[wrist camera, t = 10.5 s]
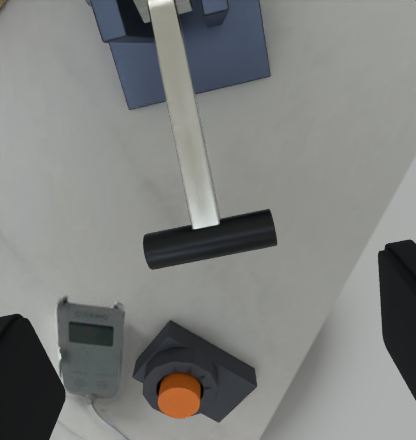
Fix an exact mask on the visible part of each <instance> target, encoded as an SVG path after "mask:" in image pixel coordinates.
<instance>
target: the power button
mask: <svg viewBox="0 0 416 440" xmlns="http://www.w3.org/2000/svg"><path fill="white" fill-rule="evenodd" d="M200 393H201V386H200V383H199V381H198V380H197V379H196V378H195V377H194V376H192V375H190V374H188V373H178V372H176V373H172V374H169V375H167V376H166V377H165V378H164V379H163V380H162V381H161V384H160V390H159V396H158V406H159V408H160V410H161V411H162V412H163V413H164V414H166V415H167V416H170V417H173V418H186V417H190V416H192V415H193V414H195V413H196V412H197V411H198V409H199V407H200Z"/></svg>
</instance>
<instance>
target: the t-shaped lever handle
mask: <svg viewBox="0 0 416 440" xmlns="http://www.w3.org/2000/svg"><path fill="white" fill-rule="evenodd" d="M132 2H133V4H134V6H135V8H136V9H137V11H138V13H139V15H140V17H141V19H142V21H143V22H144V23H148V22H151V26H152V31H153V36H154V41H155V46H156V51H157V56H158V61H159V66H160V71H161V76H162V81H163V86H164V91H165V96H166V101H167V106H168V111H169V116H170V121H171V126H172V131H173V136H174V141H175V146H176V151H177V156H178V161H179V166H180V171H181V176H182V181H183V186H184V191H185V196H186V201H187V206H188V211H189V216H190V221H191V225H188V226H183V227H178V228H173V229H168V230H163V231H158V232H153V233H148V234H145V235H144V238H143V249H144V255H145V258H146V262H147V264H148V266H149V268H150V269H152V270H154V269H159V268H164V267H169V266H174V265H179V264H184V263H190V262H195V261H200V260H205V259H210V258H215V257H221V256H226V255H231V254H236V253H241V252H246V251H251V250H257V249H262V248H267V247H272V246H276V245H277V237H276V232H275V227H274V222H273V218H272V214H271V211H270V209H266V210H261V211H256V212H251V213H246V214H241V215H237V216H232V217H227V218H222V219H221V217H220V212H219V207H218V202H217V197H216V192H215V187H214V182H213V177H212V172H211V167H210V162H209V158H208V153H207V148H206V143H205V138H204V133H203V128H202V123H201V118H200V113H199V108H198V103H197V98H196V93H195V88H194V83H193V79H192V74H191V69H190V64H189V59H188V54H187V49H186V44H185V39H184V34H183V29H182V24H181V19H180V14H182V13H186V12H190V11H192V9H193V7H192V2H191V0H132Z"/></svg>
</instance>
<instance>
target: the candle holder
mask: <svg viewBox="0 0 416 440" xmlns="http://www.w3.org/2000/svg"><path fill="white" fill-rule="evenodd" d="M5 2H6V0H0V8H1V7H2V6H3V5H4V4H5Z"/></svg>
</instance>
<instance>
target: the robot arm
mask: <svg viewBox="0 0 416 440" xmlns="http://www.w3.org/2000/svg"><path fill="white" fill-rule="evenodd" d="M378 264H379V281H380V298H381V317H382V334H383V340H384V343H385V346H386V348H387V350H388V352H389V354H390V355H391V357H392V359H393V361H394V363H395V364H396V366H397V368H398V370H399V371H400V373H401V375H402V377H403V379H404V380H405V382H406V384H407V386H408V387H409V389H410V391H411V393H412V394H413V396H414V398H415V400H416V244H415V243H414V242H413V241H412V240H405V241H400V242H394V243H388V244H386V245H385V250H383V251H379V253H378ZM64 402H65V389H64V386H63V384H62V382H61V380H60V378H59V376H58V375H57V373H56V371H55V369H54V367H53V365H52V363H51V361H50V359H49V357H48V355H47V353H46V351H45V349H44V348H43V346H42V344H41V342H40V340H39V338H38V336H37V334H36V332H35V330H34V328H33V326H32V324H31V323H30V321H29V320H28V319H27V318H23V316H21V315H20V314H13V315H8V316H3V317H0V440H49V439H50V436H51V434H52V431H53V429H54V427H55V424H56V422H57V419H58V417H59V414H60V412H61V409H62V407H63V404H64Z"/></svg>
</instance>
